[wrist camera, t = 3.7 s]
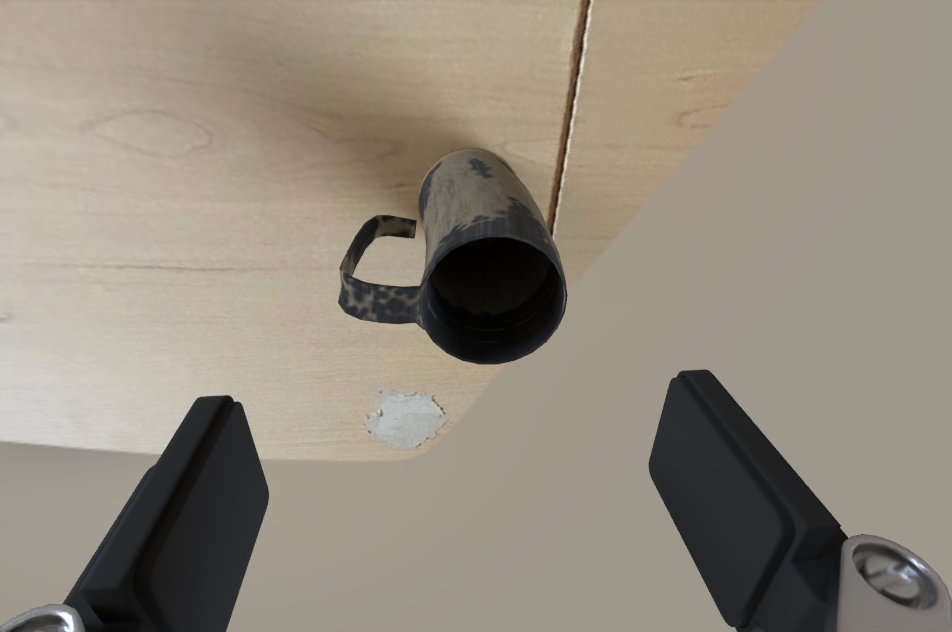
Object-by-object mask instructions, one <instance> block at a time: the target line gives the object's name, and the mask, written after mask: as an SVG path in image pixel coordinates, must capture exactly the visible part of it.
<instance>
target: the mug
mask: <svg viewBox="0 0 952 632" xmlns="http://www.w3.org/2000/svg"><path fill="white" fill-rule="evenodd" d="M418 196H419V213H420V217H421V220H422V224H423V227H424V231H425V240H426V262H425V271H424V274H423V278H422V282H421V284H420V286H410V287H398V286H387V285H379V284H373V283H367V282H363V281H361V280H358V279H356V278H353V277H352V275H353V273H354V270H355V268H356V266H357V264H358V262H359V260H360V258H361V257H362V255H363V253H364V251H365V249H366V248H367V247H368V246H369V245H370V244H371V243H372V242H373V241H374V240H375V239H376V238H378V237H383V236H395V237H404V238H415V230H416V222H417V220H412V219H406V218H401V217H396V216H391V215H378V216H375V217H373V218H372V219H370V220H369V221H367V222H366V223H365V224H364V225H363V226H362V228H361V229H360V231H359V232H358V233H357V235H356V236H355V238H354V240H353V242H352V244H351V246H350V248H349V249H348V251H347V253H346V255H345V257H344V259H343V261H342V264H341V266H340V275H341V285H342V286H341V291H340V296H339V301H338V303H339V305H340V306H341V308H342V309H343V311H344V312H345V313H347V314H349V315H351V316H353V317H356V318H358V319H360V320H366V321H372V322H378V323H390V324H405V323H417V324H418V325H419V326H420V327H421V328H422V329H423V330H426V332H427V333H428V335H429V336H430V338H431V339H432V341H433V342H434V343H435V344H436V345H438V346H439V347H440V348H441V349H442V350H443V351H445V352H446V353H447V354H450V355H452V356H454V357H456V358H458V359H460V360H462V361H466V362H471V363H476V364H501V363H506V362H510V361H515V360H517V359H519V358H522V357H524V356H526V355H528V354H530V353H532V352H534V351H535V350H536V349H537V348H539V347H540V346H542V345H543V344H544V343H546V342H547V340H548V339H549V338H550V337H551V336H552V334H553V333H554V332H555V330H557V328H558V326H559V324H560V322H561V319H562V317H563V315H564V313H565V308H566V301H567V289H566V281H565V276H564V272H563V268H562V264H561V260H560V256H559V253H558V251H557V248H556V246H555V244H554V241H553V239H552V237H551V234H550V232H549V229H548V227H547V225H546V223H545V220H544V218H543V216H542V214H541V212H540V210H539V208H538V206H537V205H536V203H535V201H534V200H533V198H532V196H531V195H530V193H529V191H528V190H527V188H526V187H525V185H524V184H523V183H522V182H521V181H520V179H519V178H518V177H517V176H516V174H515V172H514V171H513V169H512V168H511V167H510V166H509V165H508V164H507V162H506V161H504V160H503V159H501V158H500V157H498V156H497V155H495V154H494V153H491V152H488V151H484V150H481V149H462V150H458V151H454V152H451V153H449V154H447V155H446V156H444V157H442V158H440V159H439V160H438V161H437V162H436V163H435V164H434V165H433V166H432V167H431V168H430V169H429V170H428V172H427V173H426V175H425V177H424V179H423V180H422V183H421V187H420V191H419V194H418Z"/></svg>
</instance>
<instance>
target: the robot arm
mask: <svg viewBox="0 0 952 632" xmlns="http://www.w3.org/2000/svg"><path fill="white" fill-rule="evenodd" d="M649 472H650V475H651V478H652V480H653V482H654V484H655V486H656V488H657V490H658V492H659V494H660V496H661V498H662V500H663V502H664V504H665V506H666V508H667V509H668V512H669V513H670V515H671V517H672V519H673V521H674V523H675V525H676V527H677V529H678V531H679V533H680V535H681V537H682V539H683V541H684V543H685V545H686V546H687V549H688V551H689V552H690V554H691V556H692V558H693V560H694V562H695V564H696V566H697V568H698V570H699V572H700V574H701V576H702V578H703V580H704V582H705V584H706V586H707V588H708V590H709V592H710V593H711V596H712V598H713V599H714V601H715V603H716V605H717V607H718V609H719V611H720V613H721V615H722V617H723V619H724V620H725V622H726V623H727V624H728V625H729V626H731V627H735V628H736V630H737V632H952V601H951V597H950V594H949V592H948V589H947V586H946V585H945V583H944V582H943V581H942V579H941V578H940V576H939V575H938V574H937V572H936V571H934V570H933V569H932V568H931V567H930V566H929V565H928V564H927V563H926V562H925V561H924V560H923V559H921V558H920V557H918V556H917V555H916V554H914V553H913V552H911V551H910V550H909V549H907V548H905V547H903V546H901V545H899V544H897V543H895V542H893V541H890V540H888V539H885V538H882V537H878V536H872V535H864V534H861V535H856V536H852V537H850V538H848V537H847V536H846V534H845V533H844V532H843V531H842V530H841V529H840V526H841V525H840V524H839V523H838V522H837V520H836V519H835V518H834V517H833V516H832V514H831V513H830V512H829V511H828V510H827V509H826V507H825V506H824V505H823V504H822V503H821V501H820V500H819V499H818V498H817V497H816V496H815V495H814V493H813V492H812V491H811V490H810V488H809V487H808V486H807V485H806V484H805V483H804V481H803V480H802V479H801V478H800V477H799V476H798V474H797V473H796V472H795V471H794V470H793V468H792V467H791V466H790V465H789V464H788V462H787V461H786V460H785V459H784V458H783V457H782V456H781V454H780V453H779V452H778V451H777V450H776V448H775V447H774V446H773V445H772V444H771V442H770V441H769V440H768V439H767V438H766V436H765V435H764V434H763V433H762V432H761V431H760V429H759V428H758V427H757V426H756V425H755V424H754V423H753V421H752V420H751V419H750V418H749V416H748V415H747V414H746V413H745V412H744V410H742V408H741V407H740V406H739V405H738V403H737V402H736V401H735V400H734V399H733V397H732V396H731V395H730V394H729V393H728V392H727V390H726V389H725V388H724V387H723V386H722V384H721V383H720V382H719V381H718V380H717V379H716V377H715V376H714V375H713V374H712V373H711V372H710V371H708V370H689V371H681V372H679V374H678V375H677V377H676V378H672V380H671V381H670V384H669V388H668V391H667V395H666V399H665V403H664V406H663V410H662V414H661V418H660V422H659V425H658V429H657V433H656V437H655V441H654V444H653V448H652V452H651V456H650V460H649ZM268 500H269V491H268V486H267V483H266V480H265V476H264V473H263V470H262V467H261V464H260V460H259V457H258V454H257V451H256V447H255V444H254V441H253V438H252V435H251V431H250V428H249V425H248V422H247V419H246V415H245V412H244V409H243V406H242V404H241V403H240V402H234V401H233V398H232V397H231V396H228V395H225V396H206V397H199V398H197V400H196V401H195V402H194V404H193V405H192V407H191V409H190V410H189V412H188V413H187V415H186V417H185V418H184V420H183V421H182V423H181V425H180V426H179V428H178V429H177V431H176V433H175V434H174V436H173V438H172V439H171V441H170V442H169V444H168V446H167V447H166V449H165V450H164V452H163V454H162V455H161V457H160V458H159V460H158V462H157V463H156V465H154V466H152V467H151V468H150V469H149V470H148V471H147V472H146V473H145V475H144V476H143V478H142V479H141V481H140V483H139V484H138V486H137V487H136V489H135V491H134V492H133V493H132V495H131V497H130V498H129V500H128V501H127V503H126V505H125V506H124V508H123V509H122V511H121V513H120V514H119V516H118V517H117V519H116V520H115V522H114V524H113V525H112V527H111V528H110V530H109V531H108V533H107V535H106V536H105V538H104V539H103V541H102V543H101V544H100V546H99V547H98V549H97V550H96V552H95V554H94V555H93V557H92V558H91V560H90V562H89V563H88V565H87V566H86V568H85V569H84V571H83V573H82V574H81V576H80V577H79V579H78V581H77V582H76V584H75V585H74V587H73V588H72V590H71V592H70V593H69V595H68V596H67V598H66V600H65V601H64V603H63V604H48V605H45V606H41V607H38V608H33V609H31V610H28V611H26V612H24V613H22V614H20V615H18V616H16V617H14V618H12V619H10V620H9V621H7V622H6V623H4V624H3V625H2V626H0V632H226V630H227V627H228V624H229V621H230V618H231V615H232V611H233V608H234V605H235V602H236V600H237V596H238V593H239V590H240V587H241V584H242V581H243V578H244V575H245V572H246V569H247V566H248V563H249V560H250V557H251V554H252V551H253V548H254V545H255V542H256V539H257V536H258V532H259V529H260V527H261V524H262V521H263V518H264V514H265V512H266V509H267V505H268Z"/></svg>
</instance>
